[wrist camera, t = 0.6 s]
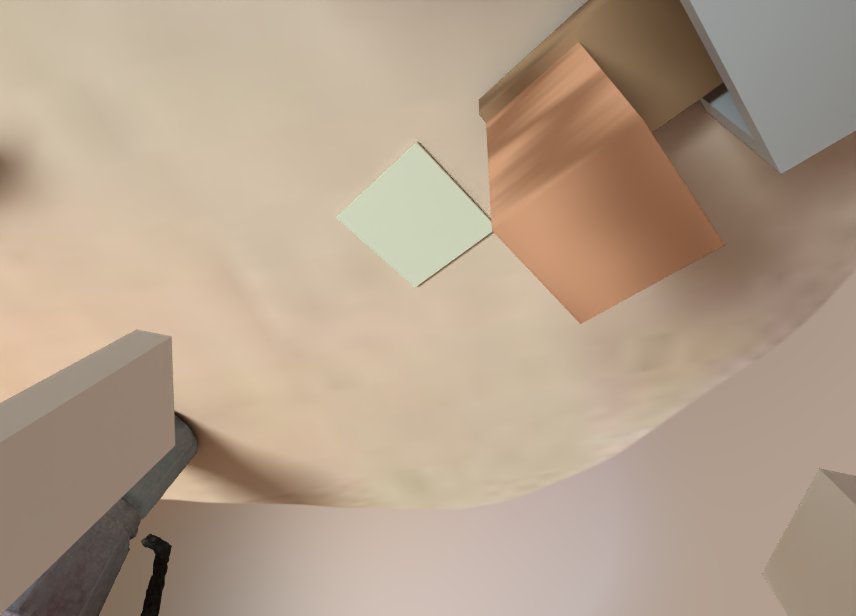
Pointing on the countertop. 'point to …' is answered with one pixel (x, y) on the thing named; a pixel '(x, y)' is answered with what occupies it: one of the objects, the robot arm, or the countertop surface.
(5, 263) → the countertop surface
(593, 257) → the wooden pillar on base
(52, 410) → the robot arm
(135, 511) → the moka pot
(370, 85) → the countertop surface
